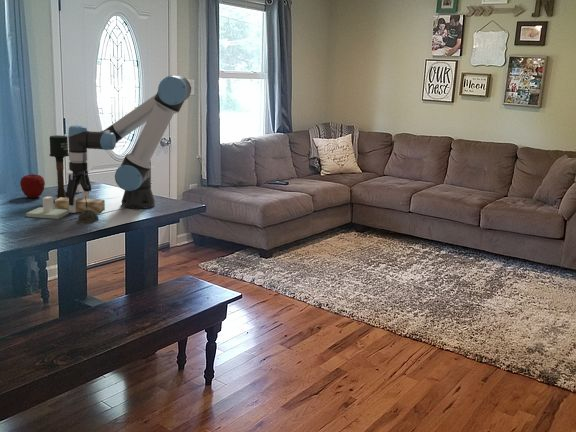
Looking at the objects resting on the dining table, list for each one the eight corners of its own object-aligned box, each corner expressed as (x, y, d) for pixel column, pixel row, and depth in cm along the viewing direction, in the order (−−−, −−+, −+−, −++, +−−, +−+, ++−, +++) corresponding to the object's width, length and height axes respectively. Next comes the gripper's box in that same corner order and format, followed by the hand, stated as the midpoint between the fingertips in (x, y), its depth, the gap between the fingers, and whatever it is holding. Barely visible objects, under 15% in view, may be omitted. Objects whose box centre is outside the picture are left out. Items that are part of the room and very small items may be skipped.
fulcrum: (70, 212, 259) (69, 195, 257) (58, 218, 248) (57, 201, 246) (39, 210, 260) (38, 193, 258) (26, 216, 249) (25, 199, 248)
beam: (104, 210, 267) (104, 199, 265) (100, 213, 261) (99, 202, 260) (60, 208, 267) (60, 197, 266) (55, 211, 261) (54, 200, 260)
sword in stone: (82, 217, 252) (82, 190, 249) (100, 219, 252) (101, 192, 249) (73, 223, 243) (73, 195, 240) (92, 225, 242) (93, 197, 240)
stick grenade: (64, 202, 277) (61, 137, 270) (48, 200, 279) (44, 136, 271) (74, 198, 285) (72, 136, 278) (58, 197, 287) (55, 134, 279)
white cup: (64, 191, 298) (63, 172, 296) (75, 189, 305) (75, 170, 303) (77, 193, 295) (76, 174, 293) (88, 191, 302) (87, 171, 300)
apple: (21, 195, 286) (19, 171, 283) (45, 194, 290) (43, 171, 287) (21, 200, 276) (19, 175, 273) (45, 199, 280) (44, 175, 277)
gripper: (82, 156, 271) (83, 202, 276) (56, 165, 247) (57, 214, 252) (98, 158, 270) (98, 203, 276) (73, 166, 246) (74, 216, 251)
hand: (79, 208), depth 264 cm, fingers open, 13 cm apart
